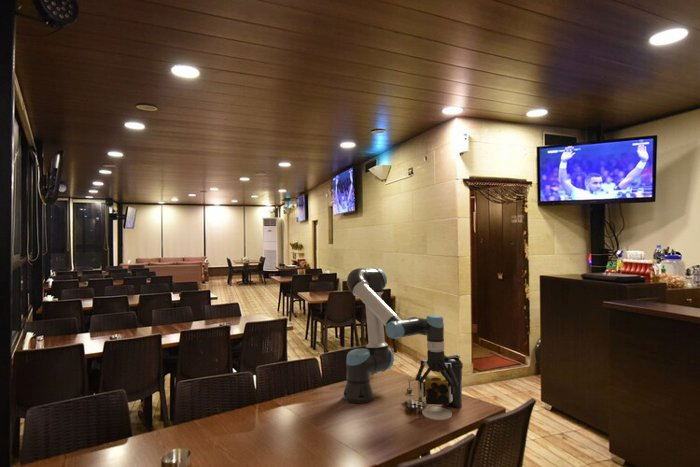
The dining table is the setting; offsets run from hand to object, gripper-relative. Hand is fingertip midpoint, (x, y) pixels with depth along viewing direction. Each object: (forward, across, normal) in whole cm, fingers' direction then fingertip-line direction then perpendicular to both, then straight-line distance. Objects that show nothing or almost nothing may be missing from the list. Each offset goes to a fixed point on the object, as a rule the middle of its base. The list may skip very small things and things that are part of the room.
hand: (437, 399), depth 186 cm
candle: (+1, 0, 0) cm, 1 cm away
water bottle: (+7, +2, +14) cm, 16 cm away
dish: (+7, 0, 0) cm, 7 cm away
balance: (+7, -11, +8) cm, 15 cm away
